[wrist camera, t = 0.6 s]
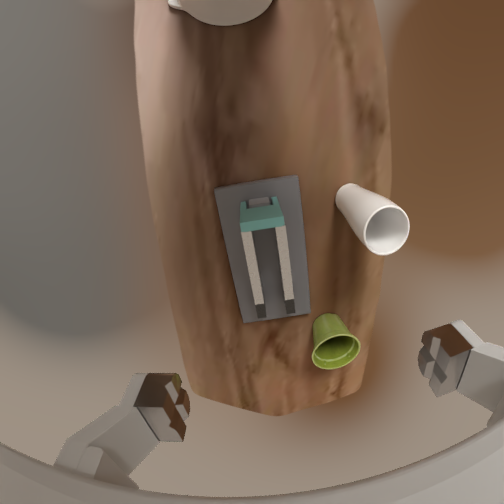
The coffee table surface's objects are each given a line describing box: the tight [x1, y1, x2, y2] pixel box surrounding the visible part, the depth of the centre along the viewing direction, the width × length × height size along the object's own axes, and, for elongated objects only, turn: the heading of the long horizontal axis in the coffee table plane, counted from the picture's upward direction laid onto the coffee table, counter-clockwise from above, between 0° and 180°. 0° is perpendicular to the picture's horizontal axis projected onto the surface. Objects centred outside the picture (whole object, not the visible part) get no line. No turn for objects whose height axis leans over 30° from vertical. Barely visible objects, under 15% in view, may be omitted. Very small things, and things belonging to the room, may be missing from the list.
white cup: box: [335, 183, 410, 255], centre depth 39 cm, size 7×7×15 cm
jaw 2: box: [274, 223, 295, 314], centre depth 47 cm, size 16×2×4 cm, turn 10°
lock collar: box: [240, 197, 285, 232], centre depth 40 cm, size 3×6×10 cm, turn 100°
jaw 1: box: [241, 231, 267, 319], centre depth 47 cm, size 16×2×4 cm, turn 10°
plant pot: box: [312, 313, 360, 369], centre depth 53 cm, size 9×9×9 cm
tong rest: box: [214, 175, 311, 323], centre depth 48 cm, size 26×13×4 cm, turn 10°
